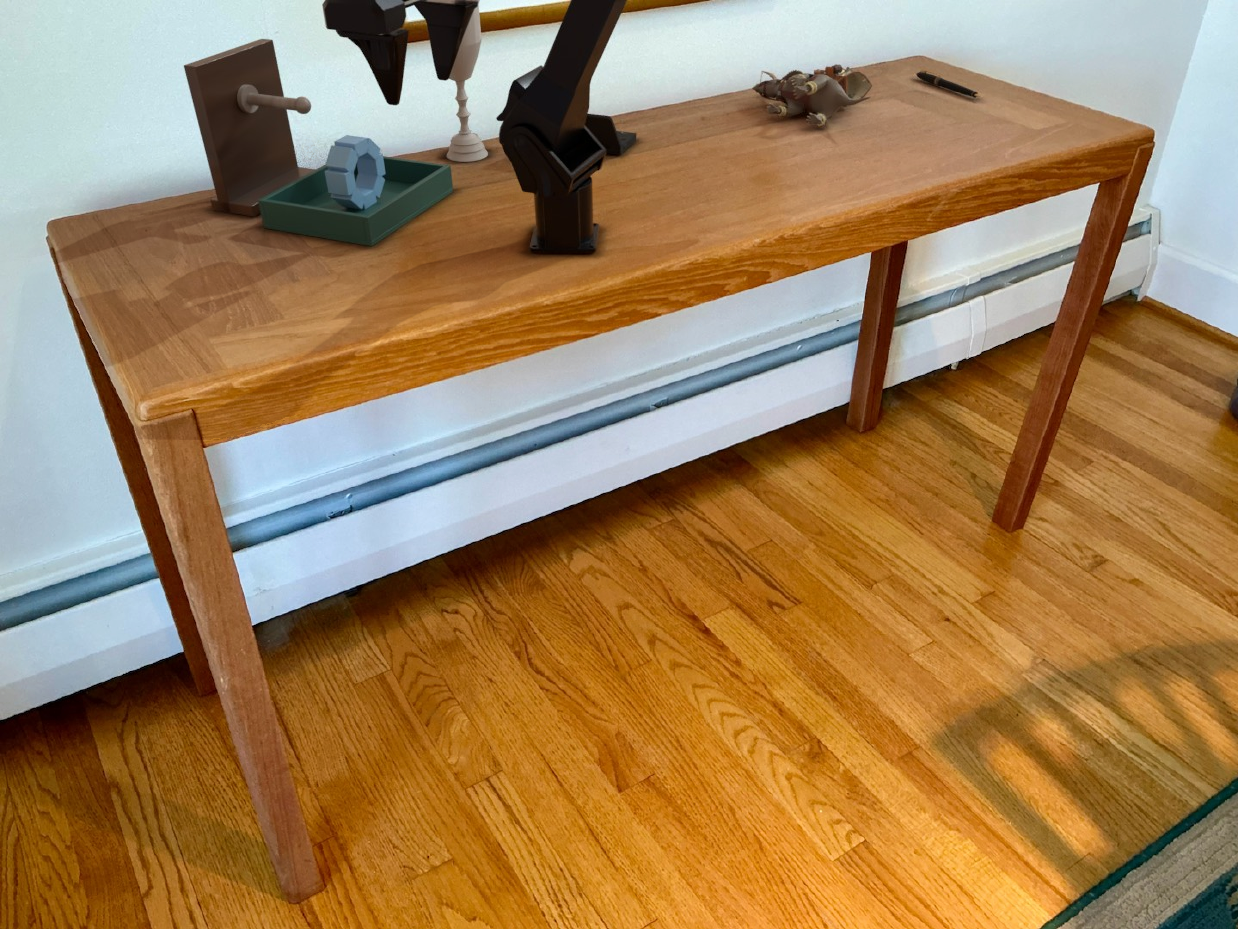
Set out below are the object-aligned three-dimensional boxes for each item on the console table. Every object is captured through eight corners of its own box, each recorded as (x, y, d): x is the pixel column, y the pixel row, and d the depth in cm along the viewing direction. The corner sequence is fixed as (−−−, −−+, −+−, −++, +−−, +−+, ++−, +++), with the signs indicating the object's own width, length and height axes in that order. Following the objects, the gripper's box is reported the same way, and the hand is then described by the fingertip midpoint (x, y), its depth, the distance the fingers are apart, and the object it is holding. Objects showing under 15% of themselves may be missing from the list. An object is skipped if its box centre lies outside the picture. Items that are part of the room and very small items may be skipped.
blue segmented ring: (389, 195, 108) (379, 130, 104) (352, 217, 103) (340, 150, 99) (369, 192, 109) (359, 128, 105) (332, 214, 104) (320, 148, 100)
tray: (453, 191, 111) (450, 164, 109) (372, 246, 98) (367, 217, 97) (353, 176, 115) (349, 151, 113) (263, 227, 102) (257, 200, 101)
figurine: (723, 69, 132) (792, 47, 142) (723, 116, 135) (790, 91, 146) (858, 85, 120) (921, 59, 131) (853, 136, 124) (916, 107, 134)
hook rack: (359, 185, 112) (336, 45, 104) (293, 223, 103) (262, 73, 95) (282, 174, 116) (253, 37, 107) (212, 210, 107) (175, 64, 98)
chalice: (441, 145, 123) (423, -12, 113) (496, 144, 124) (483, -14, 113) (437, 165, 118) (417, 1, 107) (494, 163, 118) (480, -1, 107)
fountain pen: (986, 101, 137) (988, 90, 136) (979, 103, 137) (982, 91, 136) (918, 77, 147) (920, 66, 147) (912, 78, 147) (913, 67, 146)
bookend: (639, 121, 125) (619, 68, 116) (635, 170, 123) (615, 121, 114) (552, 129, 128) (527, 78, 119) (547, 177, 126) (521, 130, 117)
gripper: (379, -108, 96) (399, 60, 106) (254, -83, 82) (290, 108, 92) (480, -102, 93) (492, 71, 102) (368, -76, 79) (394, 122, 88)
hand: (419, 91), depth 96 cm, fingers open, 9 cm apart
